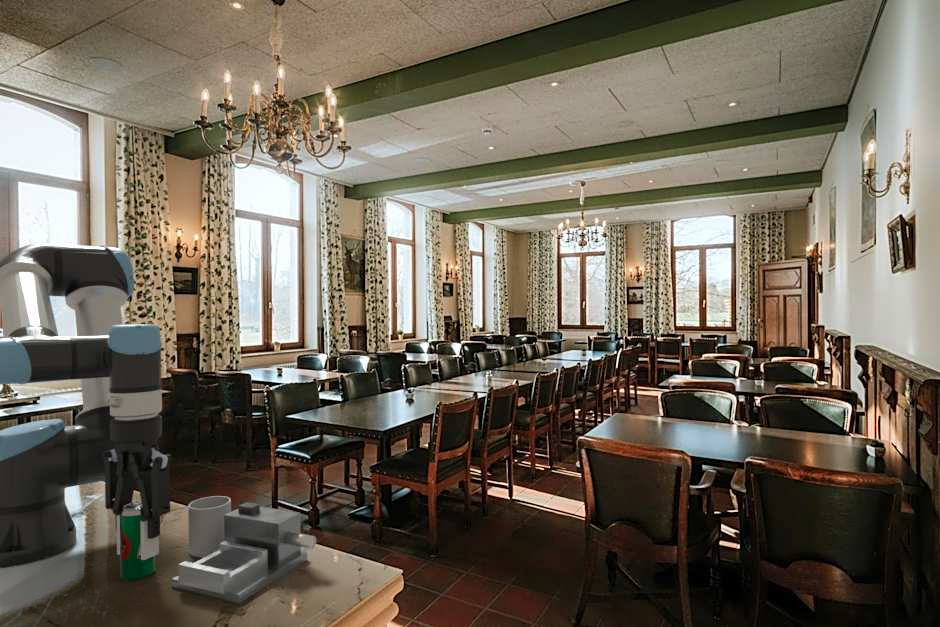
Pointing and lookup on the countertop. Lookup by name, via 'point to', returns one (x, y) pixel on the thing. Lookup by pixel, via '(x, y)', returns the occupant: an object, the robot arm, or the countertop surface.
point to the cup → (207, 524)
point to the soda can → (133, 544)
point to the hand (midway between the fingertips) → (137, 553)
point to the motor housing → (248, 554)
